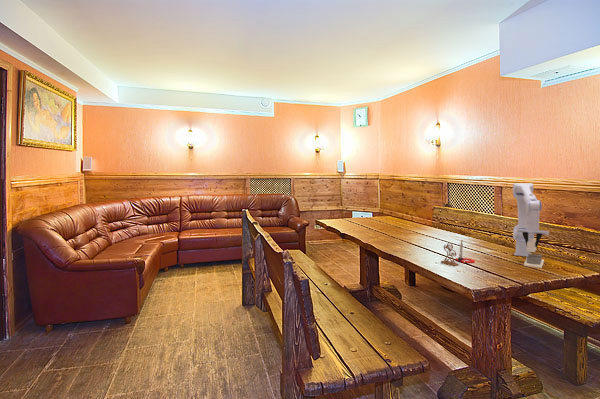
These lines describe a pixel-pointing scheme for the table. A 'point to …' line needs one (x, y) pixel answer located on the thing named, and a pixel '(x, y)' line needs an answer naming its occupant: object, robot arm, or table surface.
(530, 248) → the white long rectangular piece
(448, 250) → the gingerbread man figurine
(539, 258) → the peg rack
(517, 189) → the robot arm
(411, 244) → the table surface
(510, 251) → the table surface
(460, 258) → the tow hook
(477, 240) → the table surface
